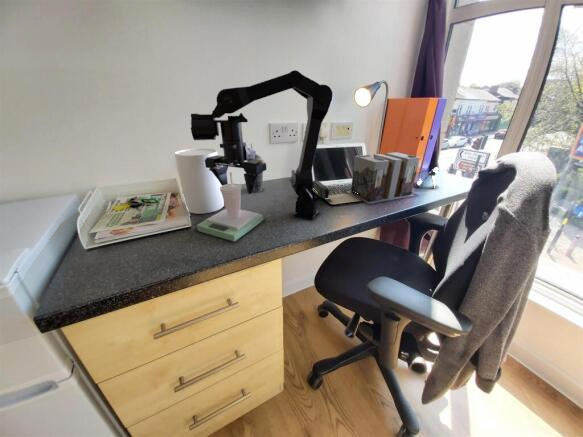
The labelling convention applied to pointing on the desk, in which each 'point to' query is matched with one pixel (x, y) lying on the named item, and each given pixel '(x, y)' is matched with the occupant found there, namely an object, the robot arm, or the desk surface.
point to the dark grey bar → (321, 190)
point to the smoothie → (232, 198)
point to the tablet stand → (427, 176)
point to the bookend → (383, 176)
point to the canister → (199, 181)
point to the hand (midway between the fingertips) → (237, 191)
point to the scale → (230, 224)
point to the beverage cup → (258, 181)
